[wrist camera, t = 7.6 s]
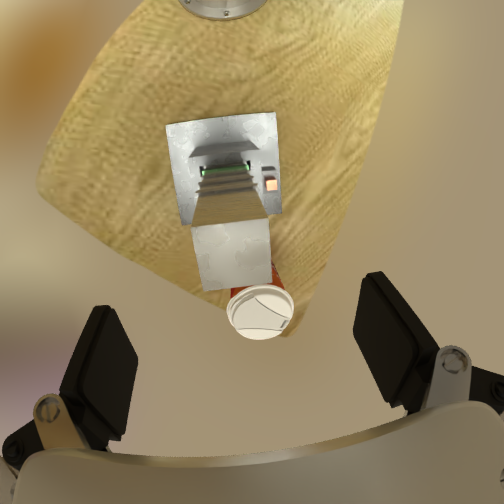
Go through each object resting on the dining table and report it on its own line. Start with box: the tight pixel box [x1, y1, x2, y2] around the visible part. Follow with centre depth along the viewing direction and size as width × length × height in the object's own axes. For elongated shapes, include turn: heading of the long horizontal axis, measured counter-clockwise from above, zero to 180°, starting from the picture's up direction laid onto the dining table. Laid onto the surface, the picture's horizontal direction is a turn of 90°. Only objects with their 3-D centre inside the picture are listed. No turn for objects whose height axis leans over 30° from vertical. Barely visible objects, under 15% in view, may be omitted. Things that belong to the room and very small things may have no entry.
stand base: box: [166, 112, 282, 225], centre depth 32 cm, size 14×14×11 cm
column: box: [191, 161, 272, 291], centre depth 23 cm, size 4×4×18 cm
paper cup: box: [227, 260, 294, 340], centre depth 37 cm, size 8×8×14 cm
